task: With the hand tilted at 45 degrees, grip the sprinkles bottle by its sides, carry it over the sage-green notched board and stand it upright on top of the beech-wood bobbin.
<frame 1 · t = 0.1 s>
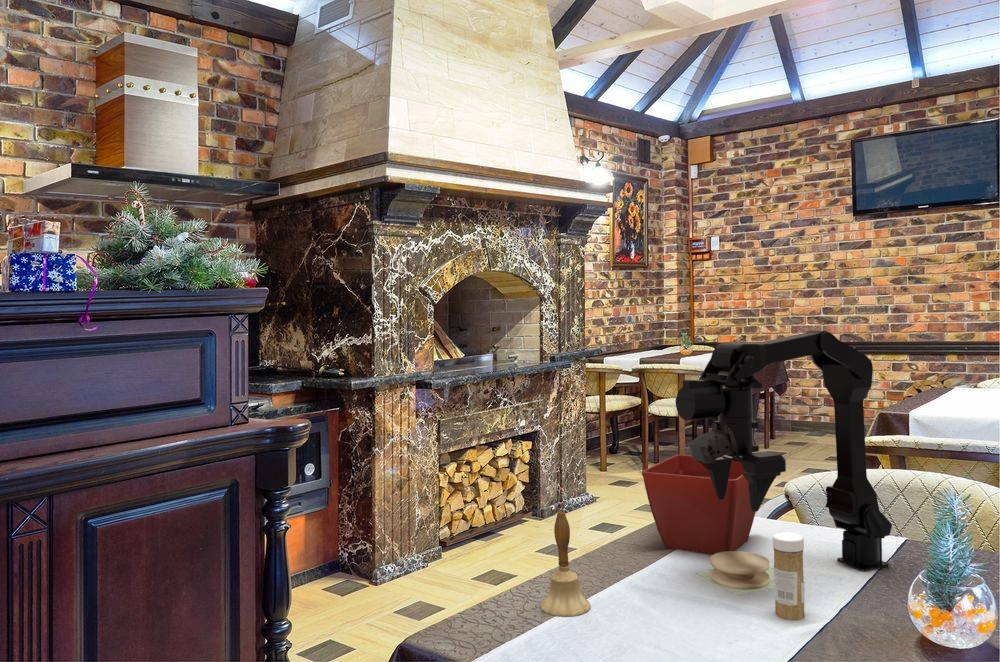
hand: (737, 505, 136), 15 cm above the table, tool pointing down, fingers open, 9 cm apart
bobbin: (739, 579, 138), resting on notched board
hand bell: (565, 608, 131), on the table
sprinkles bottle: (789, 622, 122), on the table
plant pot: (705, 549, 159), on the table
notched board: (749, 583, 139), on the table
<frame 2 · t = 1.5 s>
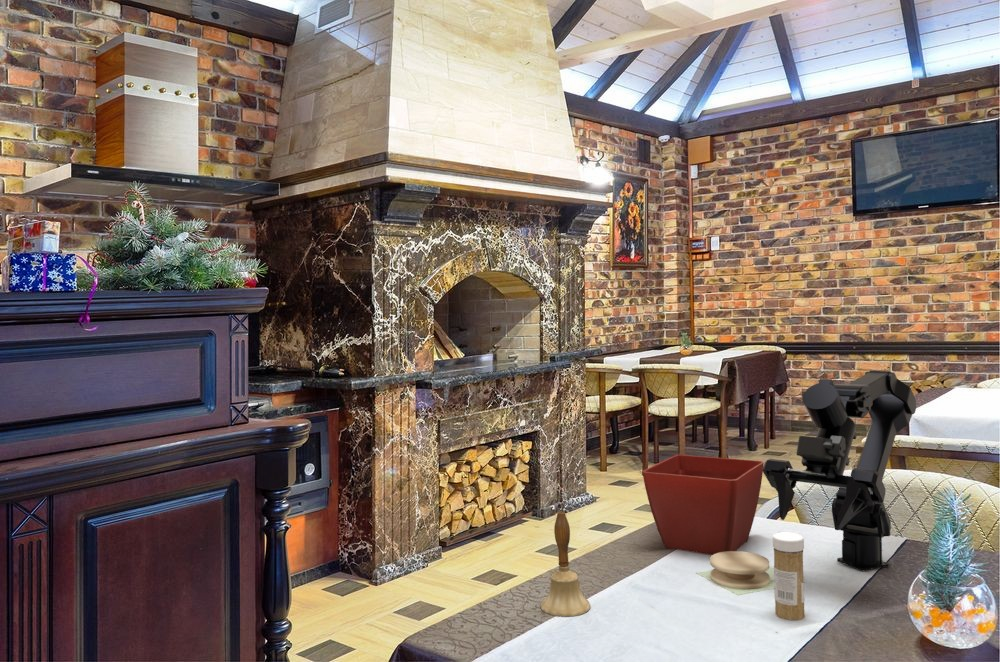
hand: (809, 523, 128), 13 cm above the table, tool tilted 45°, fingers open, 9 cm apart
nothing on the table moved.
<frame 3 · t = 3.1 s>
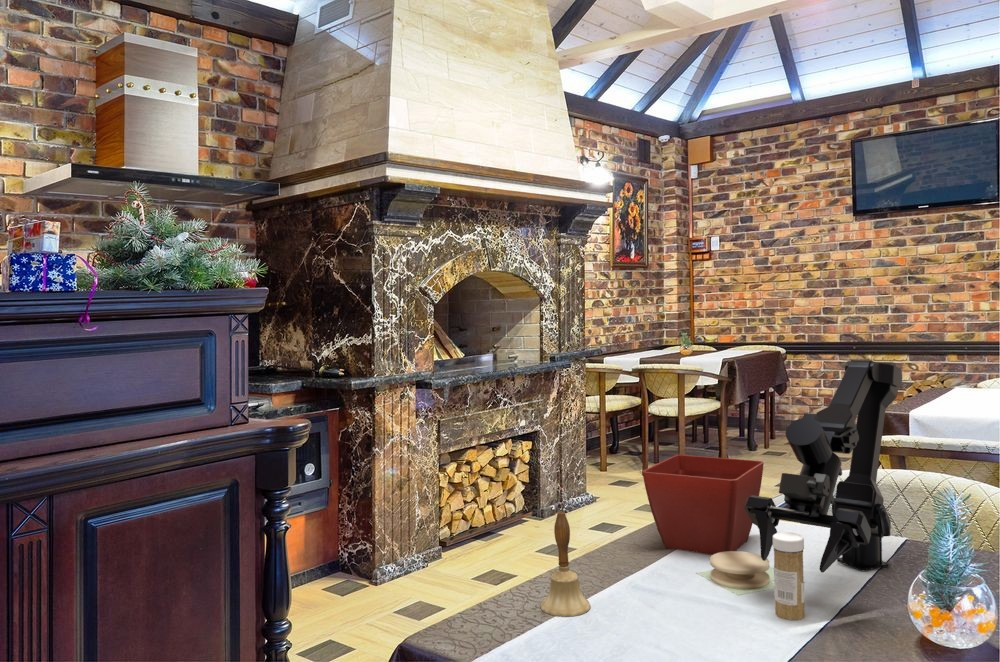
hand: (791, 565, 123), 9 cm above the table, tool tilted 45°, fingers open, 9 cm apart
nothing on the table moved.
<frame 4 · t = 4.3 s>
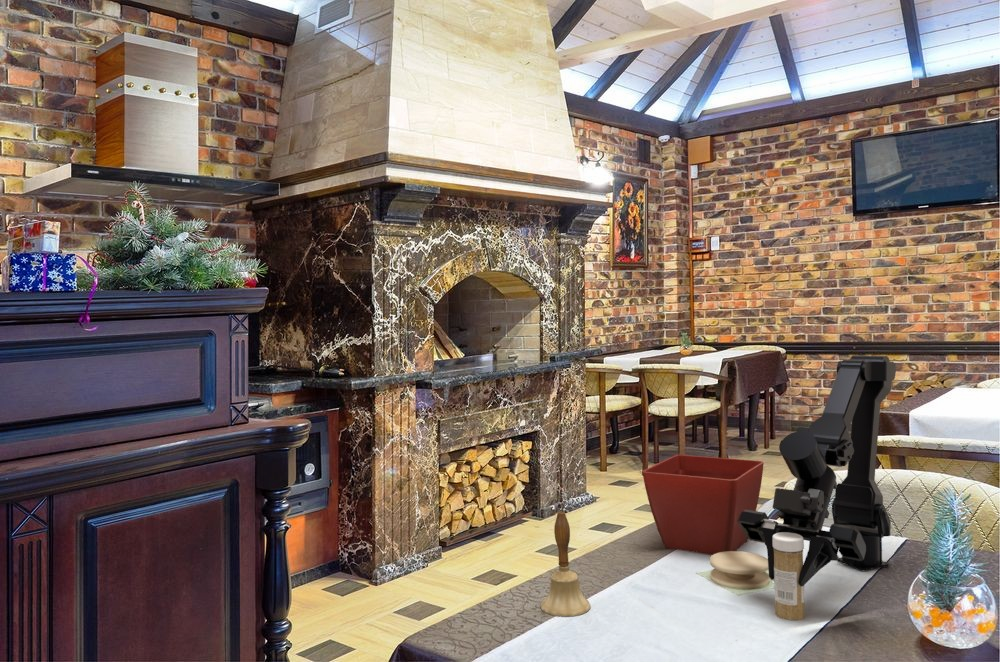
hand: (785, 581, 121), 7 cm above the table, tool tilted 45°, fingers closed on sprinkles bottle, 4 cm apart
sprinkles bottle: (789, 622, 122), on the table, touching gripper
everything else where it was.
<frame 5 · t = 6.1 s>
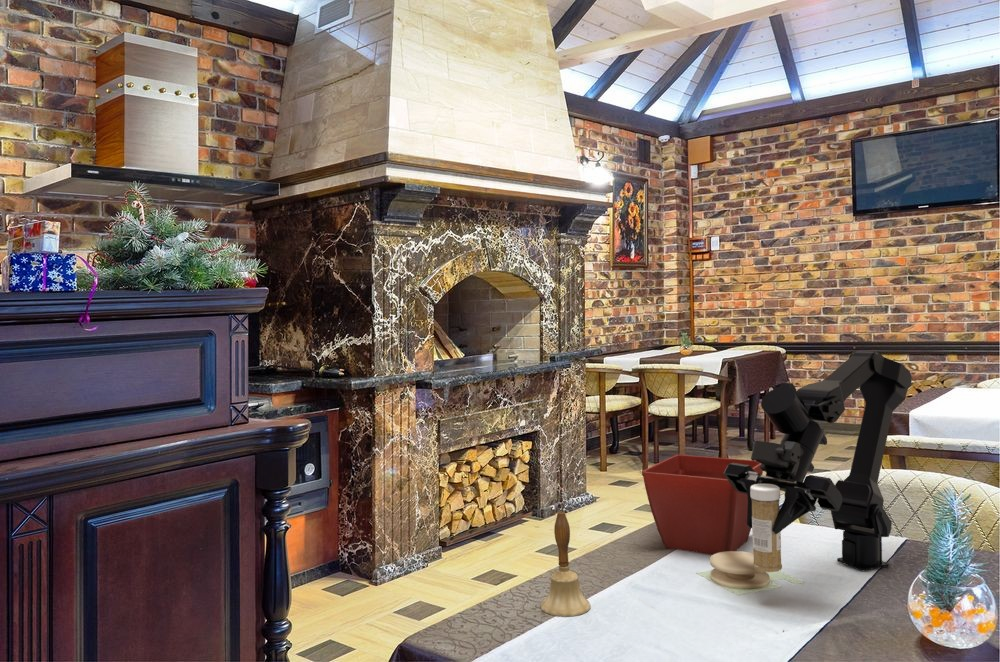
hand: (761, 529, 126), 13 cm above the table, tool tilted 45°, fingers closed on sprinkles bottle, 4 cm apart
sprinkles bottle: (767, 569, 127), point 6 cm above the table, touching gripper
everything else where it was.
when the fingers open (12 cm above the table, at t = 7.5 s): sprinkles bottle stays where it is, resting on bobbin.
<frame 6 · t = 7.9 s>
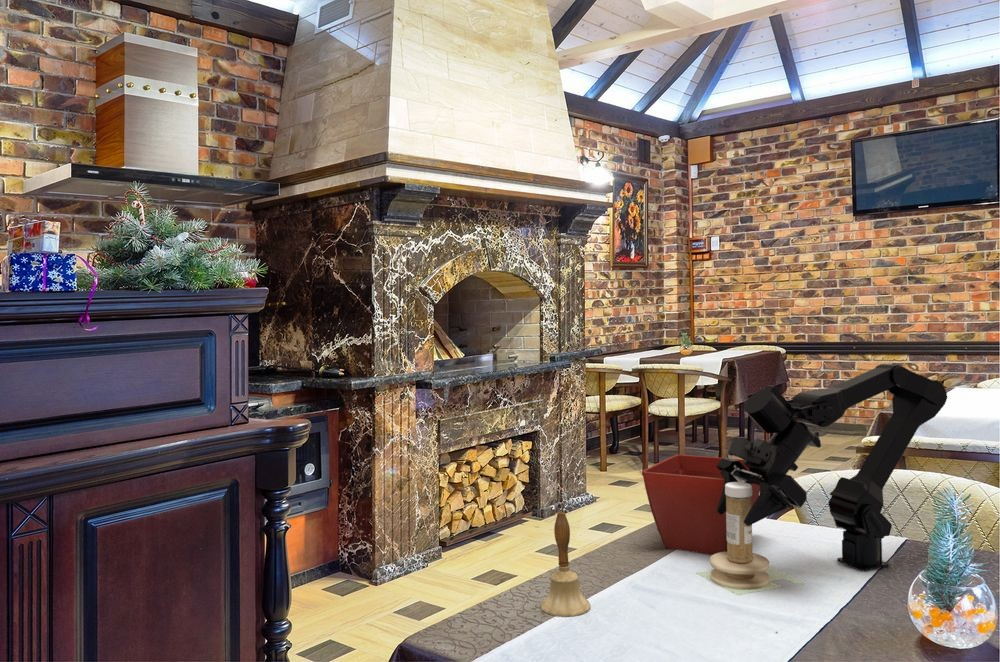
hand: (731, 518, 137), 12 cm above the table, tool tilted 45°, fingers open, 7 cm apart
sprinkles bottle: (739, 561, 138), point 4 cm above the table, touching bobbin
plant pot: (705, 548, 159), on the table, touching gripper
everything else where it was.
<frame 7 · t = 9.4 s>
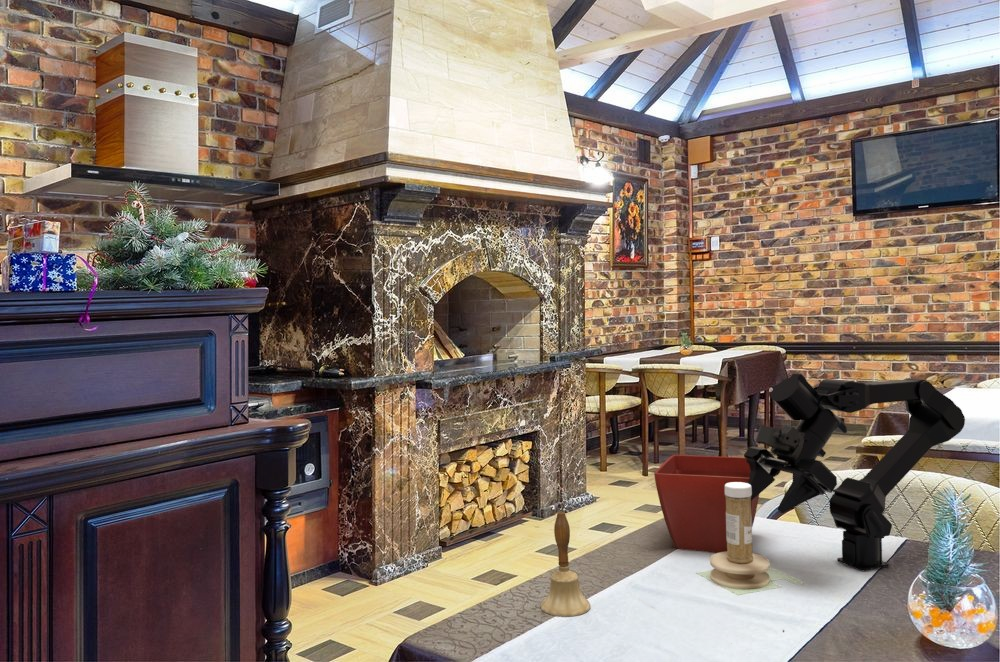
hand: (762, 505, 139), 14 cm above the table, tool tilted 45°, fingers open, 9 cm apart
plant pot: (711, 547, 160), on the table
everything else where it was.
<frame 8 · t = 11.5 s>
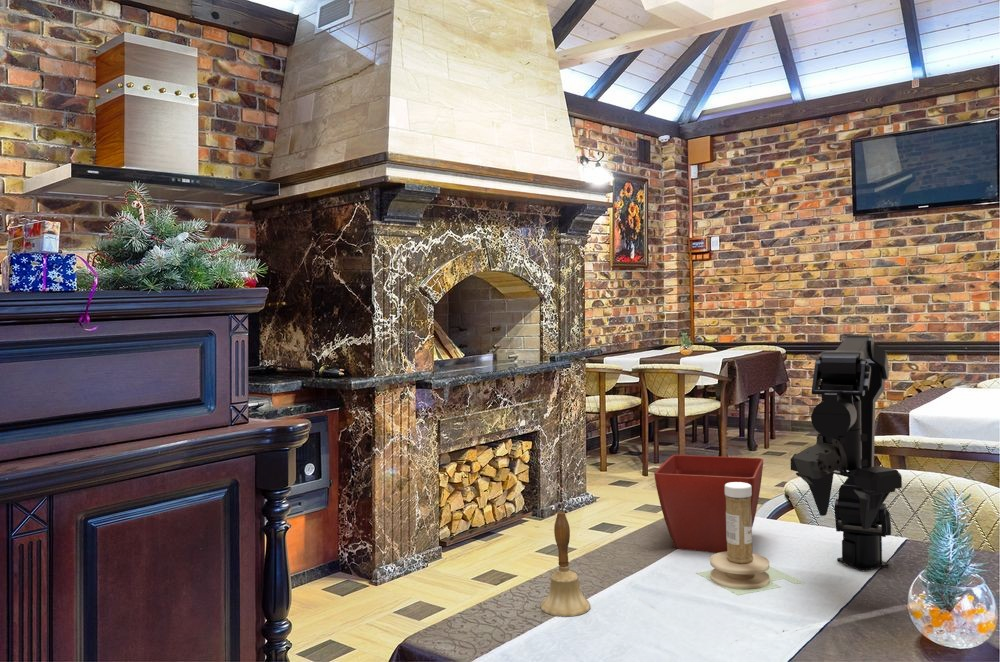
hand: (843, 522, 129), 13 cm above the table, tool pointing down, fingers open, 9 cm apart
nothing on the table moved.
at the end: sprinkles bottle 0.1 cm from the bobbin (horizontally); sprinkles bottle touching bobbin; sprinkles bottle tilted 0° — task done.
